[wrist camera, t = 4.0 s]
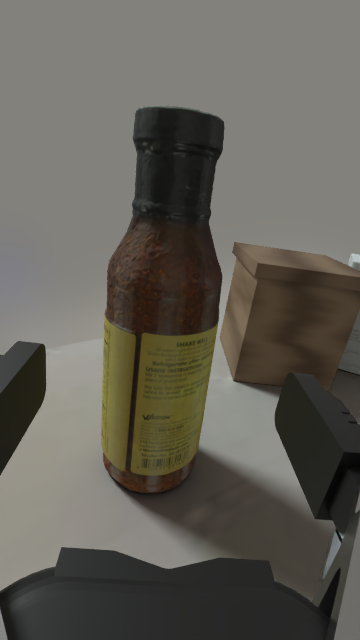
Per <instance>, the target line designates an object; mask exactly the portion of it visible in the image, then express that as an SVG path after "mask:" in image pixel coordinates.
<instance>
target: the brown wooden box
mask: <svg viewBox="0 0 360 640" xmlns="http://www.w3.org/2000/svg"><path fill="white" fill-rule="evenodd" d="M232 253H233V254H234V255H235V256H236V257H237V258H236V263H235V267H234V272H233V277H232V282H231V286H230V291H229V296H228V301H227V306H226V310H225V315H224V320H223V324H222V329H221V334H220V340H221V343H222V346H223V350H224V353H225V356H226V359H227V362H228V365H229V368H230V371H231V375H232V378H233V381H241V382H250V383H259V384H268V385H277V386H283V385H284V381H285V378H286V376H287V375H288V373H290V372H292V373H301V374H310V375H313V376H315V378H316V379H317V380H318V382H319V383H320V384H321V386H322V387H323V388H324V390H325V391H329V390H330V388H331V385H332V382H333V380H334V377H335V374H336V372H337V369H338V366H339V364H340V361H341V358H342V356H343V353H344V350H345V348H346V345H347V342H348V340H349V337H350V334H351V332H352V329H353V326H354V324H355V321H356V318H357V316H358V313H359V310H360V271H359V270H357V269H354V268H352V267H350V266H348V265H345V264H343V263H341V262H339V261H337V260H334V259H332V258H330V257H327V256H325V255H318V254H312V253H305V252H298V251H291V250H284V249H278V248H271V247H264V246H257V245H250V244H243V243H236V242H235V243H234V247H233V252H232Z"/></svg>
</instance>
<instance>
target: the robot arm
mask: <svg viewBox="0 0 360 640" xmlns="http://www.w3.org/2000/svg"><path fill="white" fill-rule="evenodd" d="M45 391H46V350H45V346H44V345H43V344H40V343H31V342H22V341H18V342H16V343H15V344H14V345H13V346H12V347H11V348H10V349H9V351H8V352H7V353H6V354H5V355H0V475H1V473H2V471H3V470H4V468H5V466H6V465H7V463H8V461H9V459H10V458H11V456H12V454H13V453H14V451H15V449H16V448H17V446H18V444H19V442H20V441H21V439H22V437H23V436H24V434H25V432H26V431H27V429H28V427H29V425H30V424H31V422H32V420H33V419H34V417H35V415H36V413H37V412H38V410H39V408H40V407H41V405H42V403H43V400H44V396H45ZM275 426H276V429H277V432H278V434H279V436H280V439H281V441H282V443H283V446H284V448H285V450H286V453H287V455H288V457H289V460H290V462H291V464H292V467H293V469H294V471H295V474H296V476H297V478H298V480H299V483H300V485H301V487H302V490H303V492H304V494H305V497H306V499H307V501H308V504H309V506H310V508H311V511H312V513H313V515H314V518H315V519H322V520H333V522H334V524H335V526H336V527H335V530H334V532H333V534H332V536H331V540H330V543H329V546H328V550H327V553H326V557H325V560H324V564H323V567H322V571H321V574H320V578H319V581H318V585H317V588H316V591H315V595H314V598H313V600H312V602H310V601H309V600H308V599H307V598H305V597H304V596H302V595H301V594H299V593H298V592H296V591H294V590H293V589H291V588H289V587H287V586H285V585H283V584H281V583H279V582H276V581H274V578H273V574H272V570H271V566H270V563H269V561H263V560H248V559H232V558H216V559H212V560H208V561H203V562H199V563H195V564H190V565H186V566H182V567H178V568H173V569H165V568H161V567H159V566H156V565H153V564H150V563H147V562H145V561H142V560H139V559H136V558H133V557H131V556H128V555H125V554H122V553H119V552H117V551H111V550H95V549H80V548H65V547H61V551H60V554H59V557H58V561H57V564H56V567H52V568H47V569H44V570H41V571H38V572H35V573H33V574H30V575H28V576H26V577H24V578H22V579H20V580H18V581H16V582H14V583H13V584H11V585H9V586H8V587H6V588H4V589H3V590H1V591H0V640H360V425H359V424H357V421H356V420H355V418H354V417H353V416H352V415H350V412H349V411H348V409H347V408H346V407H345V406H344V404H343V403H342V402H341V401H340V400H339V399H337V398H336V397H335V396H333V395H332V394H331V393H329V392H328V391H325V390H324V388H323V387H322V386H321V384H320V383H319V382H318V380H317V379H316V378H315V376H313V375H310V374H301V373H292V372H290V373H288V375H287V376H286V378H285V381H284V385H283V388H282V391H281V394H280V398H279V401H278V404H277V407H276V411H275Z"/></svg>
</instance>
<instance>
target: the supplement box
mask: <svg viewBox="0 0 360 640" xmlns="http://www.w3.org/2000/svg"><path fill="white" fill-rule="evenodd" d="M348 266H350V267H352V268H354V269H357V270H359V271H360V255H357V254H351V257H350V260H349V263H348ZM338 369H341V370H345V371H348V372H351V373H355V374H358V375H360V310H359V313H358V316H357V318H356V321H355V324H354V326H353V329H352V332H351V334H350V337H349V340H348V342H347V345H346V348H345V350H344V353H343V356H342V358H341V361H340V364H339V366H338Z"/></svg>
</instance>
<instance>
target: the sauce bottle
mask: <svg viewBox="0 0 360 640" xmlns="http://www.w3.org/2000/svg"><path fill="white" fill-rule="evenodd" d="M223 139H224V122H223V120H222V119H221V118H219V117H217V116H215V115H213V114H210V113H206V112H202V111H199V110H196V109H191V108H184V107H175V106H148V107H142V108H139V109H138V110H137V111H136V113H135V123H134V135H133V141H134V144H135V147H136V151H137V164H136V182H135V198H134V200H133V203H132V206H133V217H132V220H131V222H130V225H129V228H128V231H127V233H126V234H125V236H124V237H123V239H122V241H121V242H120V244H119V246H118V247H117V249H116V251H115V252H114V254H113V255H112V257H111V259H110V261H109V264H108V271H107V272H108V276H107V280H108V282H107V308H106V310H105V319H104V352H103V384H102V431H101V443H102V448H103V451H104V453H103V461H104V465H105V468H106V470H107V471H108V472H109V473H110V475H111V477H113V478H114V479H115V480H116V481H117V482H119V483H120V484H121V485H123V486H125V487H126V488H127V489H129V490H131V491H136V492H141V493H154V492H157V493H160V492H165V491H167V490H170V489H172V488H174V487H176V486H178V485H180V484H181V482H182V481H183V480H184V479H185V478H186V477H187V476H188V474H189V472H190V471H191V469H192V467H193V465H194V460H195V455H196V452H197V450H198V446H199V439H200V433H201V427H202V421H203V415H204V409H205V402H206V395H207V389H208V383H209V377H210V371H211V365H212V358H213V352H214V346H215V339H216V333H217V327H218V320H219V302H220V293H221V284H222V273H221V268H220V265H219V263H218V260H217V256H216V252H215V248H214V244H213V239H212V235H211V231H210V227H209V219H210V216H211V210H210V203H211V195H212V190H213V182H214V174H215V166H216V163H217V160H218V159H219V157H220V155H221V153H222V149H223Z"/></svg>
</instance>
